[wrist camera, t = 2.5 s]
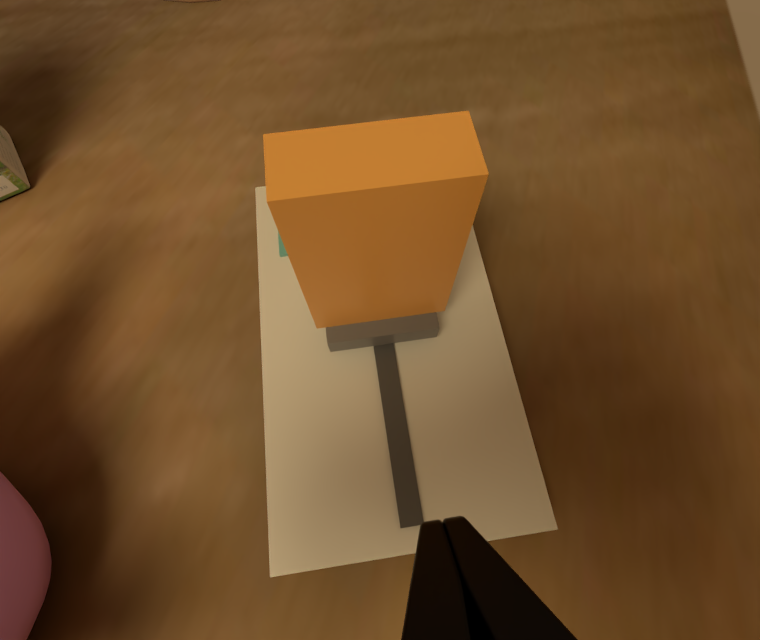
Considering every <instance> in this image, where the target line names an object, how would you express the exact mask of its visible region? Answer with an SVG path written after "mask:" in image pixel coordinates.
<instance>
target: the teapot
mask: <svg viewBox="0 0 760 640" xmlns="http://www.w3.org/2000/svg"><path fill="white" fill-rule="evenodd" d="M51 566H52V559H51V552H50V545H49V542H48V539H47V536H46V534H45V531H44V528H43V525H42V523H41V521H40V520H39V518H38V517H37V515H36V514H35V512H34V511H33V509H32V508H31V506H30V505H29V503H28V502H27V501H26V500H25V499H24V498H23V496H22V495H21V494H20V493H19V492H18V491H17V490H16V488H15V487H14V486H13V485H12V484H11V483H10V481H9V480H8V479H7V478H6V477H5V476H4V475H3V474H2V473H1V472H0V640H27V638H28V636H29V634H30V632H31V630H32V627H33V625H34V623H35V621H36V618H37V616H38V614H39V611H40V609H41V607H42V605H43V602H44V600H45V596H46V593H47V589H48V586H49V582H50V579H51Z"/></svg>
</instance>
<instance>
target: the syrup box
mask: <svg viewBox="0 0 760 640" xmlns="http://www.w3.org/2000/svg"><path fill="white" fill-rule="evenodd" d="M29 188H30V184H29V181H28V179H27V176H26V173H25V171H24V168H23V166H22V163H21V161H20V159H19V156H18V154H17V151H16V149H15V147H14V144H13V142H12V139H11V137H10V135H9V134H8V132H7V131H6V130H5V129H4V128H3V127H2V126H1V125H0V201H2V200H4V199H6V198H8V197H11V196H13V195H15V194H18V193H20V192H22V191H24V190H27V189H29Z"/></svg>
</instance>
